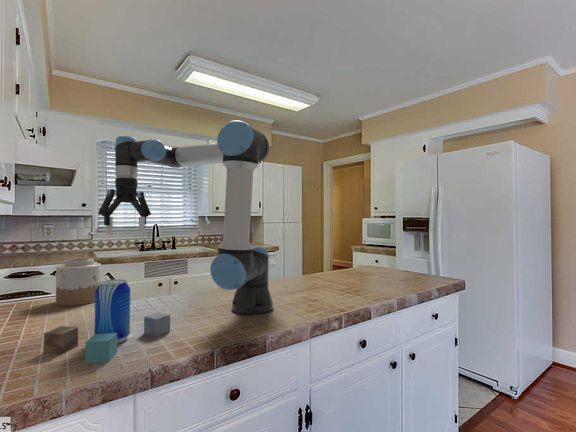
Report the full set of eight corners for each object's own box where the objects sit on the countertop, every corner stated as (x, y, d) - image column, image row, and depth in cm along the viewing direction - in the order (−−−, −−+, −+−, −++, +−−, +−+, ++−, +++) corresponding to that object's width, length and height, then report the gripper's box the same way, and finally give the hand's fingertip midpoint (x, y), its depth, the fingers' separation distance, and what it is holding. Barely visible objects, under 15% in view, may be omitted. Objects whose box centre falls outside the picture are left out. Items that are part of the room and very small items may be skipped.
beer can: (104, 335, 90) (104, 278, 90) (134, 334, 91) (135, 278, 91) (87, 347, 81) (88, 285, 82) (121, 346, 82) (122, 284, 82)
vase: (46, 303, 123) (47, 260, 123) (84, 295, 137) (85, 256, 137) (72, 308, 117) (73, 263, 117) (109, 298, 131) (110, 258, 131)
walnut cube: (77, 346, 82) (78, 327, 82) (62, 354, 77) (62, 333, 77) (60, 345, 83) (60, 326, 83) (43, 353, 78) (43, 333, 78)
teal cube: (116, 353, 78) (117, 332, 78) (109, 362, 73) (109, 340, 73) (94, 354, 77) (95, 334, 77) (85, 363, 72) (85, 341, 72)
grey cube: (170, 331, 93) (170, 314, 93) (155, 337, 89) (155, 319, 89) (158, 328, 95) (158, 312, 95) (144, 333, 91) (144, 316, 91)
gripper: (147, 182, 133) (147, 232, 133) (87, 174, 111) (86, 235, 110) (160, 181, 130) (160, 232, 129) (100, 173, 107) (100, 235, 107)
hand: (126, 234), depth 120 cm, fingers open, 13 cm apart
